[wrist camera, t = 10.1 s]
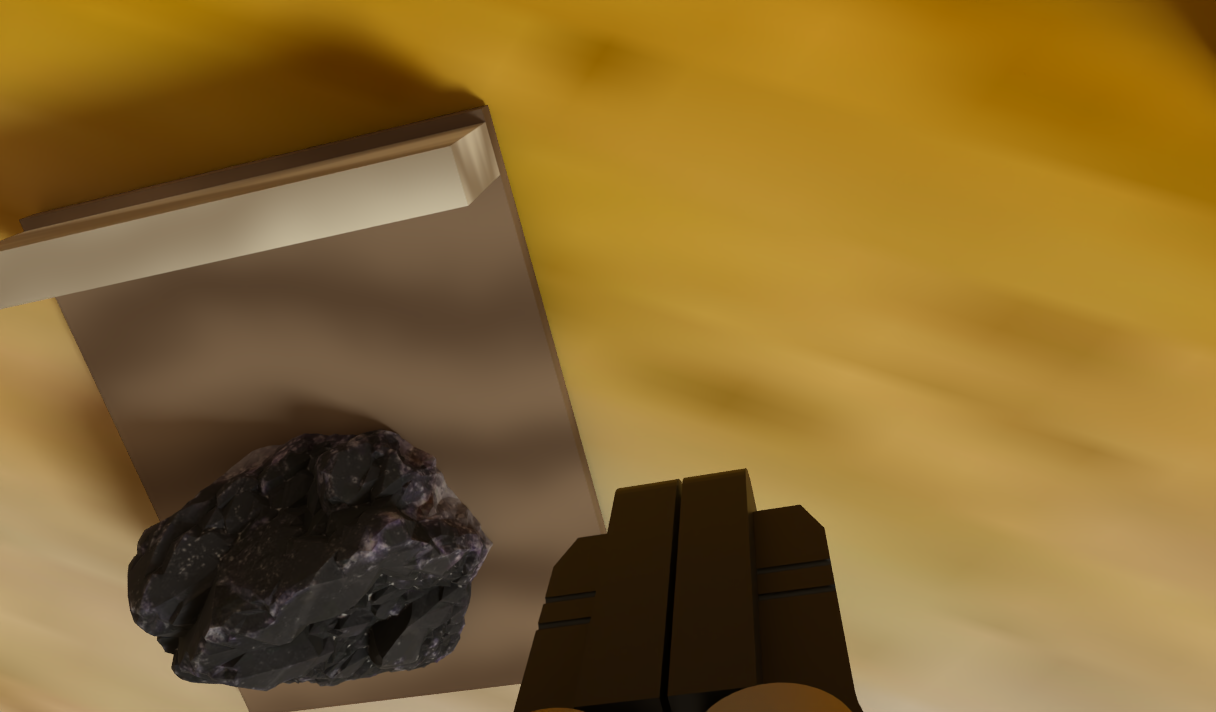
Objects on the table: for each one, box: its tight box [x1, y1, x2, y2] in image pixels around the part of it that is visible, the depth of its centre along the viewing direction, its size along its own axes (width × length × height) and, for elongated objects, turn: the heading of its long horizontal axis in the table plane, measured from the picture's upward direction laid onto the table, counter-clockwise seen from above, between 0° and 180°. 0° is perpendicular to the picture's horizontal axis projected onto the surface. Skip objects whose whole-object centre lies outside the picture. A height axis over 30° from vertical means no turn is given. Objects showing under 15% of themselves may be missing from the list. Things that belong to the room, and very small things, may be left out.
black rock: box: [128, 429, 493, 691], centre depth 40 cm, size 13×14×10 cm
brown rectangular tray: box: [0, 105, 607, 712], centre depth 40 cm, size 26×20×6 cm
